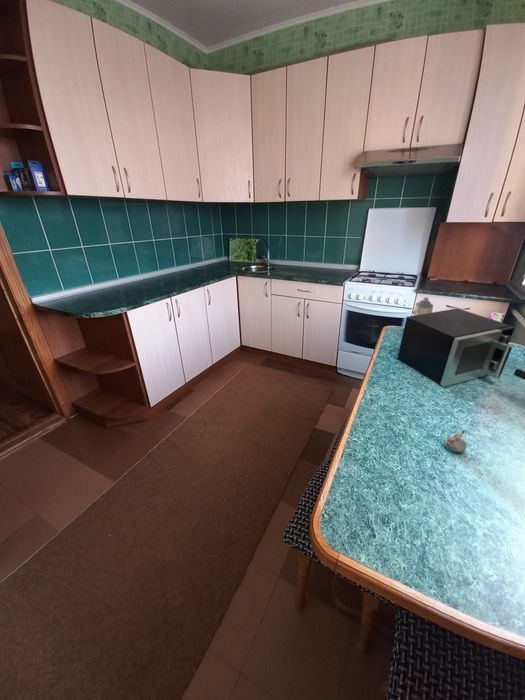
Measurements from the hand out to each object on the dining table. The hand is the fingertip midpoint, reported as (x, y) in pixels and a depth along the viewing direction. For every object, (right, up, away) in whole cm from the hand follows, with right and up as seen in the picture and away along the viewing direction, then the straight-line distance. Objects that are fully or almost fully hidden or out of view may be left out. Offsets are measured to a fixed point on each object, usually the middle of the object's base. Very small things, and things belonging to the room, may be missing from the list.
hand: (524, 368), depth 91 cm
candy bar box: (+8, +4, +29) cm, 30 cm away
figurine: (-34, -19, -17) cm, 42 cm away
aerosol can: (-12, +10, +41) cm, 44 cm away
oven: (-12, 0, +20) cm, 24 cm away
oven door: (-11, -6, +8) cm, 15 cm away
